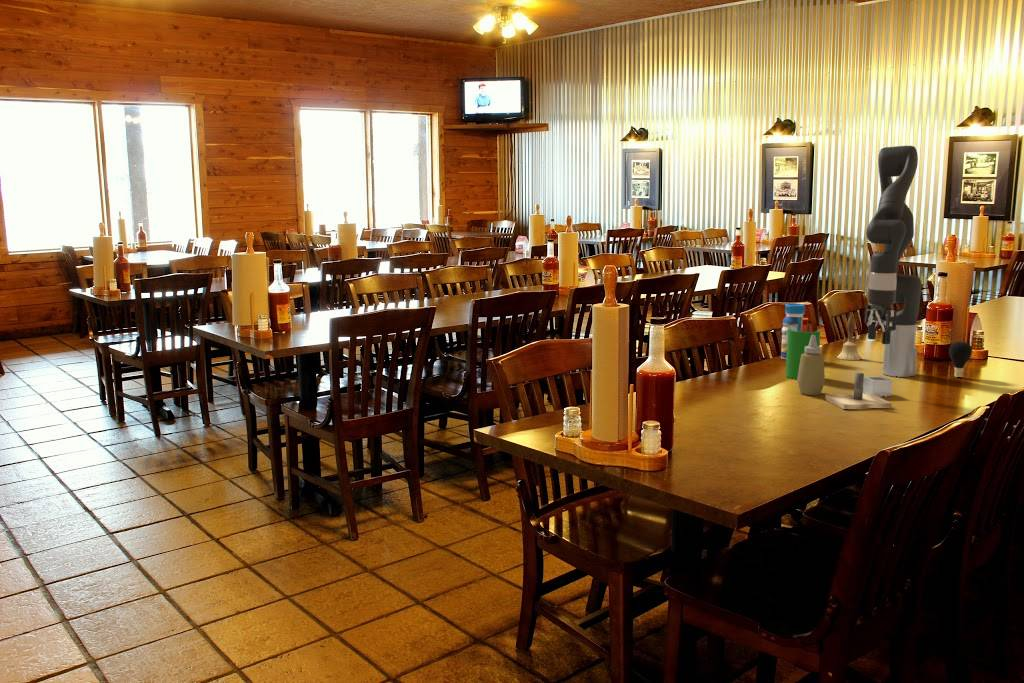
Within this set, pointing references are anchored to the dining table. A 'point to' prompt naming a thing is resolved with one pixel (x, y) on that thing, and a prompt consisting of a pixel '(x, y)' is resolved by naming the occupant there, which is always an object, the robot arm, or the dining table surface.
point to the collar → (877, 386)
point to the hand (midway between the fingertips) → (878, 341)
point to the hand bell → (850, 343)
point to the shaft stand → (858, 397)
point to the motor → (798, 347)
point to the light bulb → (960, 356)
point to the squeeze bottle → (811, 369)
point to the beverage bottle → (791, 323)
